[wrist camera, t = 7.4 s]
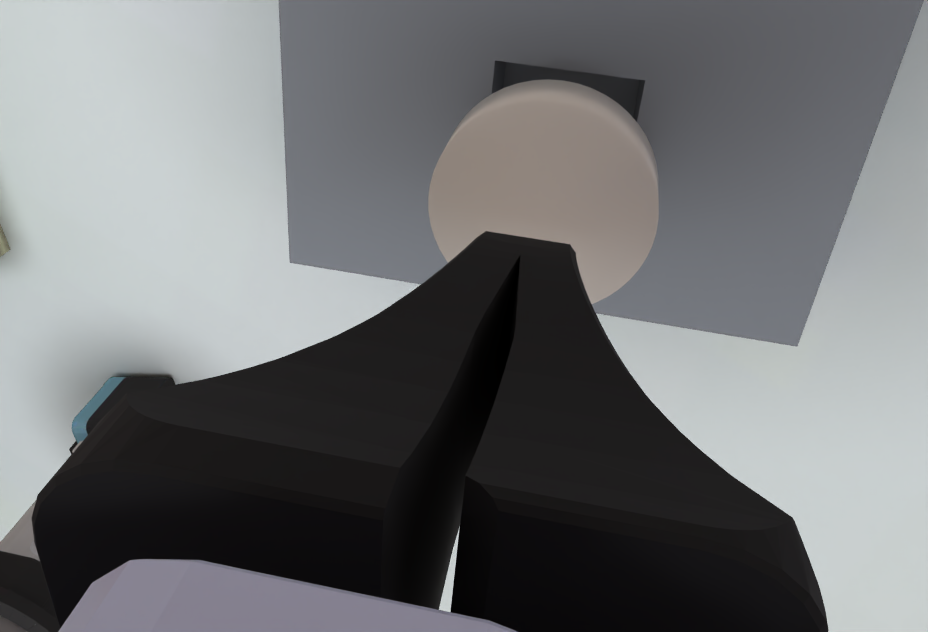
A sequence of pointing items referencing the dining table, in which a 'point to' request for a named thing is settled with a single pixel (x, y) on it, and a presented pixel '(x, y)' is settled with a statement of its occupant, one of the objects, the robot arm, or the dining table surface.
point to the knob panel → (640, 93)
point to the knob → (551, 179)
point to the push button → (15, 558)
